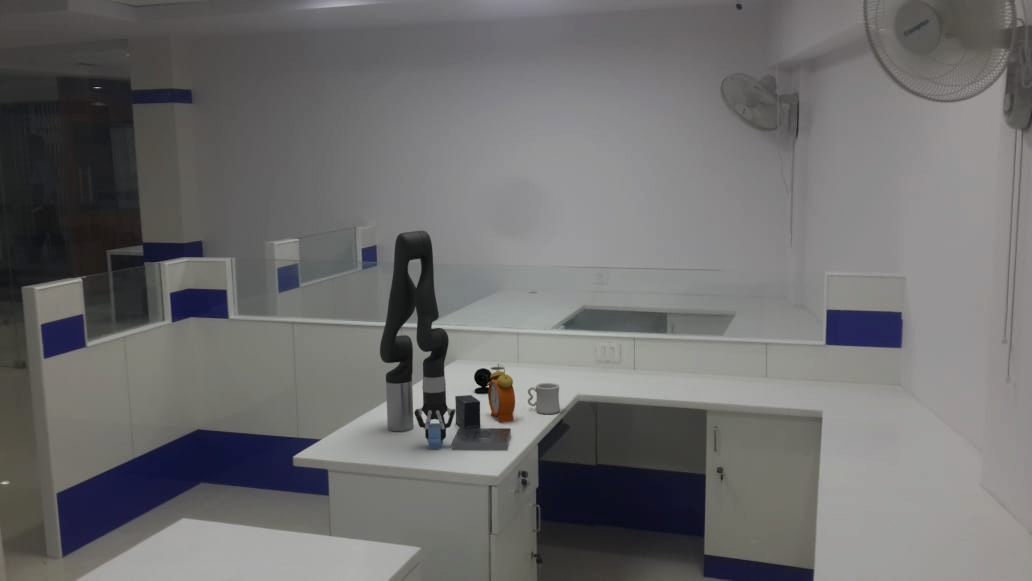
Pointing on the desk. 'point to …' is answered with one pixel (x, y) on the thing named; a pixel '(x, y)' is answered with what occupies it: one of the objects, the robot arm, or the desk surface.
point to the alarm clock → (501, 396)
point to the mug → (546, 398)
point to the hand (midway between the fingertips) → (435, 439)
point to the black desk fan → (482, 380)
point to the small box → (467, 412)
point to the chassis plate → (481, 439)
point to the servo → (434, 435)
